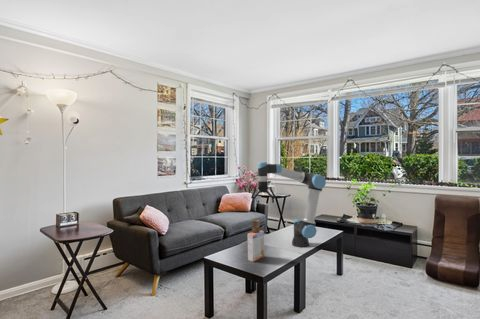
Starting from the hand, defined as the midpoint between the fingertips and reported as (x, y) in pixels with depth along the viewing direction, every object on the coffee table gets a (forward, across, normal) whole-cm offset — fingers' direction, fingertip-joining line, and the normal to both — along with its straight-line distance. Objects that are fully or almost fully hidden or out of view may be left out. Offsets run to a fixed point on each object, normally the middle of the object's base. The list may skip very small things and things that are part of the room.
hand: (263, 206), depth 241 cm
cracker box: (+38, +5, +16) cm, 41 cm away
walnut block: (+17, +5, +16) cm, 23 cm away
